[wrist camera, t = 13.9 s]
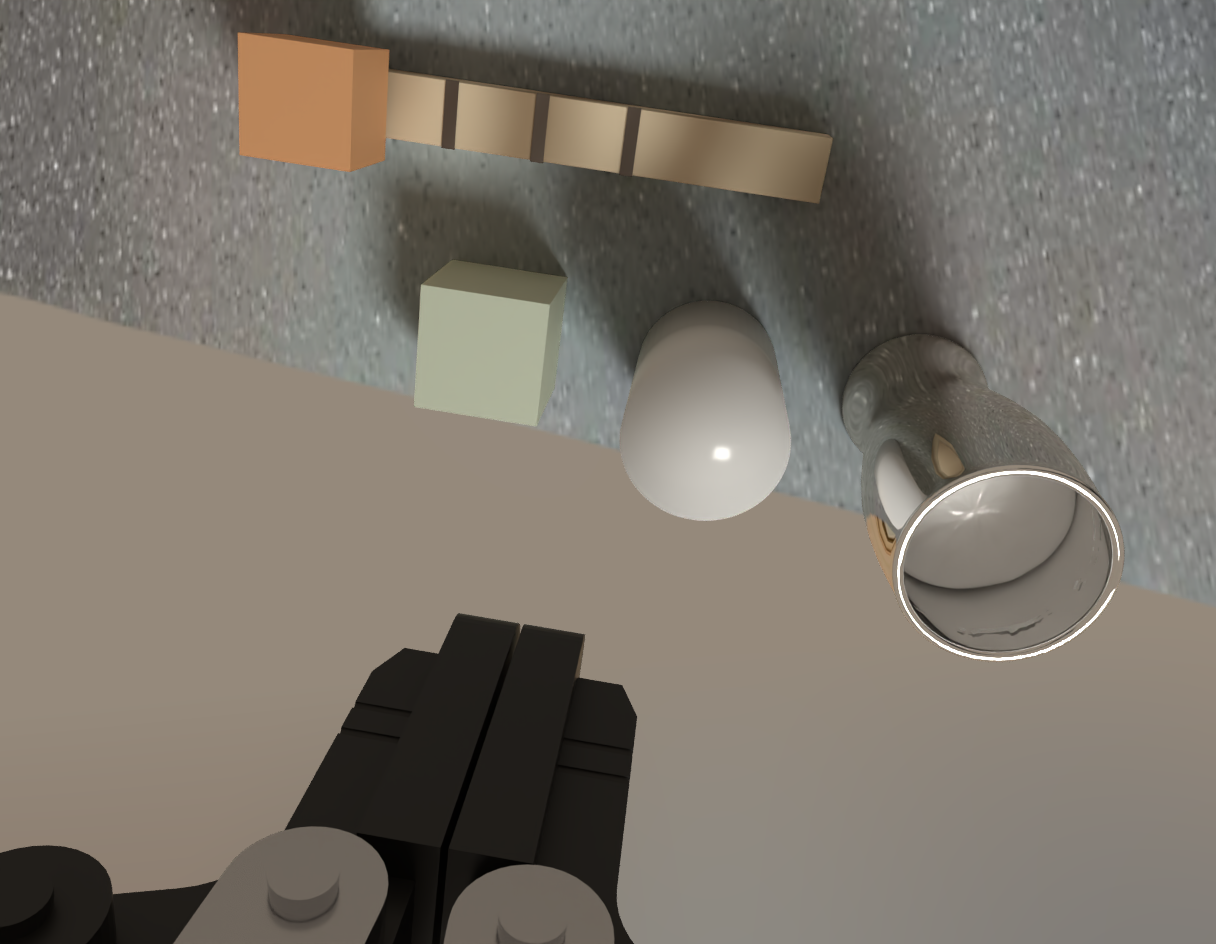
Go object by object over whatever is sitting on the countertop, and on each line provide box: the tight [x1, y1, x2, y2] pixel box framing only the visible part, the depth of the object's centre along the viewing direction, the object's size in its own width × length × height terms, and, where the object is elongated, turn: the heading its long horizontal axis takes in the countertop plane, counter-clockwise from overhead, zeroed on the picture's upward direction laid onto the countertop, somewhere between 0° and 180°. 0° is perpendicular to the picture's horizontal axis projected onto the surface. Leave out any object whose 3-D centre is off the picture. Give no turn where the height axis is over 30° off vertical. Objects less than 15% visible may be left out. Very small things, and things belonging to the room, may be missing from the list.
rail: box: [386, 69, 833, 204], centre depth 39 cm, size 22×2×2 cm, turn 82°
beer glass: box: [842, 334, 1125, 662], centre depth 36 cm, size 7×7×15 cm
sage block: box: [414, 260, 568, 426], centre depth 41 cm, size 5×5×5 cm
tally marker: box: [238, 32, 389, 172], centre depth 36 cm, size 4×4×4 cm
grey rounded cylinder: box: [620, 300, 791, 521], centre depth 39 cm, size 6×6×9 cm
